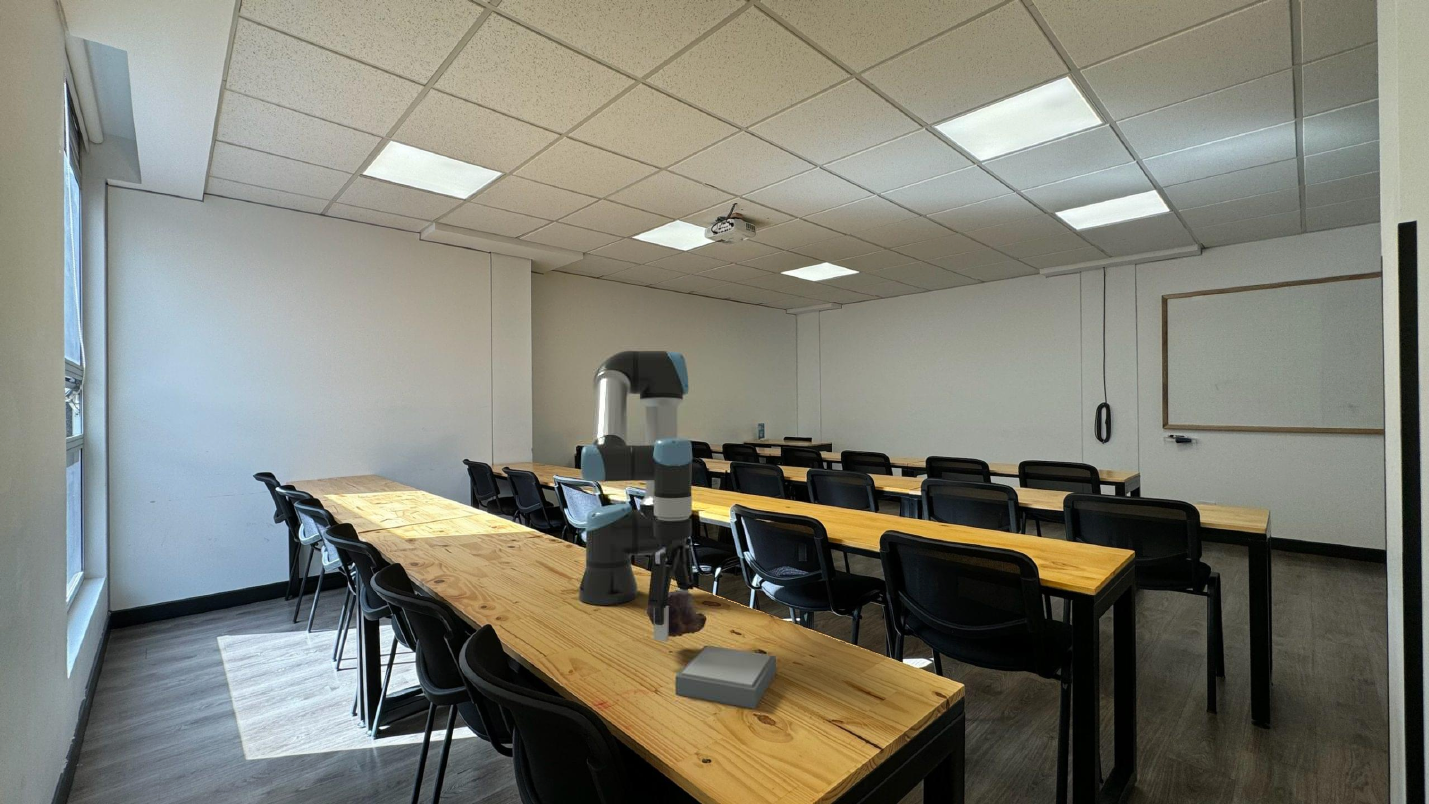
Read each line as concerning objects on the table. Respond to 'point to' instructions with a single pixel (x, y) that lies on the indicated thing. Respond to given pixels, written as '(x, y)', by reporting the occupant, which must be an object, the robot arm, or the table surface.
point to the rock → (681, 614)
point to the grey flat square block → (727, 676)
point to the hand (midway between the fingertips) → (671, 630)
